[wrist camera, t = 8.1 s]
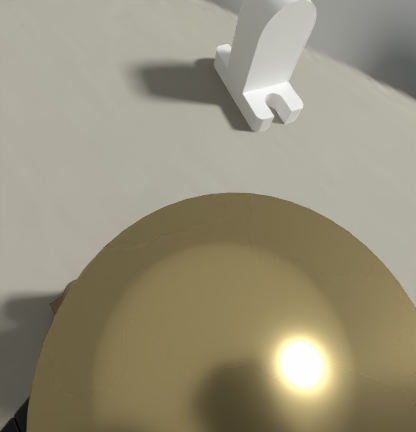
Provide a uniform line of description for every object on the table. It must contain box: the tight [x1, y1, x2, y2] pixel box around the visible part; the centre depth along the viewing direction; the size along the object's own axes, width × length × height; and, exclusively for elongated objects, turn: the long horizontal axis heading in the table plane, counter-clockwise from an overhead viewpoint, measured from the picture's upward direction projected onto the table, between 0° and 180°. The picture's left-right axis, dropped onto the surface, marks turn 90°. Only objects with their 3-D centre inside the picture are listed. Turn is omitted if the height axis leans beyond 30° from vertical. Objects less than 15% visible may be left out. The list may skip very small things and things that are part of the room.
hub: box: [26, 193, 416, 432], centre depth 9 cm, size 9×7×12 cm
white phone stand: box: [214, 0, 317, 132], centre depth 26 cm, size 5×10×10 cm, turn 24°
